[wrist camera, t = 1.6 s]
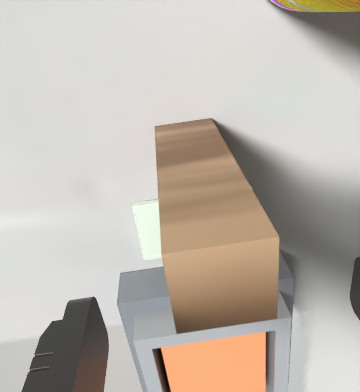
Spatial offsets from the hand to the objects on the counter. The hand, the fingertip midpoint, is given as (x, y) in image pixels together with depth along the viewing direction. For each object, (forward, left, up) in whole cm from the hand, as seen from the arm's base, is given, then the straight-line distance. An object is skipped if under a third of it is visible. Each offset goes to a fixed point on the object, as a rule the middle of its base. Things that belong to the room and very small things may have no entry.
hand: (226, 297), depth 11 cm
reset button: (+15, 0, -10) cm, 18 cm away
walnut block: (0, 0, -12) cm, 12 cm away
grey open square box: (+15, 0, -12) cm, 19 cm away
